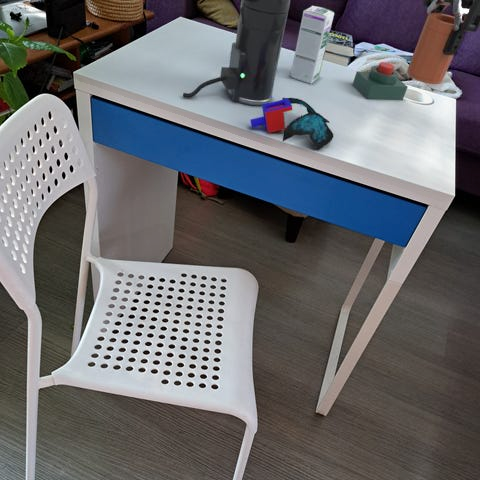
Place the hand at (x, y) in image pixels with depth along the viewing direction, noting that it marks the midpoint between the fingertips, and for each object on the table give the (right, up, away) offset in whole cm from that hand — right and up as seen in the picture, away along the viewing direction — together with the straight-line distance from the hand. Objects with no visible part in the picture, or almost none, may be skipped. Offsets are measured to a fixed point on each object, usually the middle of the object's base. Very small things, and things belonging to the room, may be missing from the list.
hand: (436, 45), depth 88 cm
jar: (-1, -4, +4) cm, 5 cm away
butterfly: (-17, -12, +11) cm, 24 cm away
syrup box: (-19, +10, +33) cm, 40 cm away
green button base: (-1, +7, +34) cm, 35 cm away
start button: (0, +11, +31) cm, 32 cm away
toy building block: (-25, -8, +8) cm, 27 cm away
